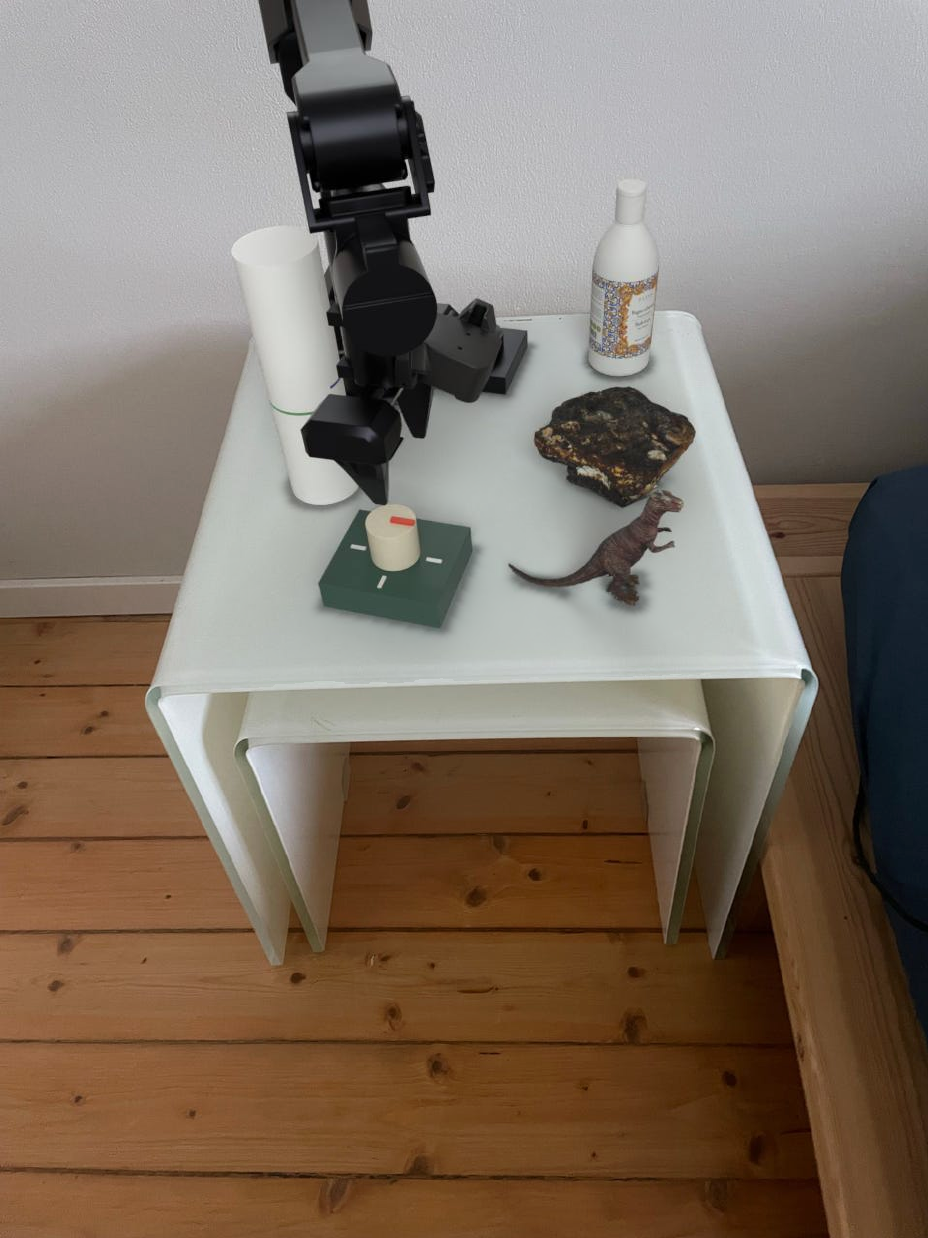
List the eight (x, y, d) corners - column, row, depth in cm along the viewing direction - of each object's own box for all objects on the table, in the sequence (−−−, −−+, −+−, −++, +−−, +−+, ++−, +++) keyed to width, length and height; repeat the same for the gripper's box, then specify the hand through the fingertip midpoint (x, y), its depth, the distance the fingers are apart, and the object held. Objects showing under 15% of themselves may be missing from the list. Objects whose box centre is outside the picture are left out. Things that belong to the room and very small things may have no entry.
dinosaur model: (685, 502, 70) (494, 499, 73) (676, 610, 79) (505, 604, 82) (685, 471, 73) (501, 469, 76) (677, 579, 81) (511, 574, 84)
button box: (421, 384, 104) (418, 353, 101) (447, 337, 111) (445, 307, 108) (505, 394, 102) (504, 363, 99) (527, 346, 108) (527, 316, 105)
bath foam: (614, 385, 102) (627, 206, 87) (575, 359, 106) (582, 183, 91) (661, 364, 104) (682, 185, 89) (622, 338, 108) (635, 163, 93)
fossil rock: (594, 409, 99) (597, 362, 95) (706, 456, 93) (714, 409, 88) (515, 476, 92) (514, 430, 88) (629, 532, 86) (634, 485, 82)
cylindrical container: (373, 469, 95) (333, 232, 76) (338, 511, 90) (288, 272, 72) (314, 454, 97) (262, 220, 78) (278, 495, 93) (214, 258, 74)
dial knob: (364, 566, 81) (357, 530, 77) (381, 533, 83) (375, 497, 80) (411, 575, 80) (405, 539, 76) (427, 541, 82) (422, 505, 79)
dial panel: (323, 606, 82) (317, 581, 79) (363, 532, 88) (358, 507, 86) (439, 628, 79) (436, 603, 77) (472, 550, 86) (470, 525, 83)
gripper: (442, 365, 55) (461, 558, 66) (521, 235, 67) (525, 417, 78) (276, 348, 58) (321, 536, 69) (381, 227, 70) (404, 403, 81)
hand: (401, 469), depth 74 cm, fingers open, 9 cm apart
